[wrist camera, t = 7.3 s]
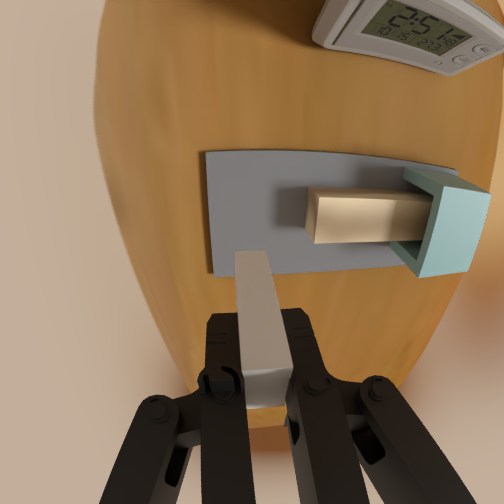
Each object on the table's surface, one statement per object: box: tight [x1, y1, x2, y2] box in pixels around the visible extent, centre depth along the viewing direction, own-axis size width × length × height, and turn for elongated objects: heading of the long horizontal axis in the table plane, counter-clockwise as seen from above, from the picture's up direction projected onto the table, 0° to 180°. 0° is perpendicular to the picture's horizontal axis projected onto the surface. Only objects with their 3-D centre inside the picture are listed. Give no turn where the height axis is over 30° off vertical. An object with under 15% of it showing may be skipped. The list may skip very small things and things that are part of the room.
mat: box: [206, 150, 458, 277], centre depth 25 cm, size 12×27×1 cm, turn 90°
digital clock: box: [312, 0, 504, 76], centre depth 11 cm, size 16×9×11 cm, turn 83°
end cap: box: [389, 167, 492, 278], centre depth 22 cm, size 9×8×6 cm
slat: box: [305, 186, 434, 244], centre depth 23 cm, size 4×14×3 cm, turn 90°
